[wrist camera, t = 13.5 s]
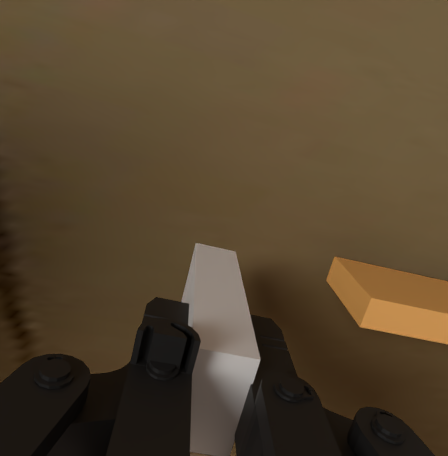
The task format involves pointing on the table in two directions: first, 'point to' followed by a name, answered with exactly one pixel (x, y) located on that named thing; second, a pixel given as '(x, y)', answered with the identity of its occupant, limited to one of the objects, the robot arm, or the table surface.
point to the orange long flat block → (392, 299)
